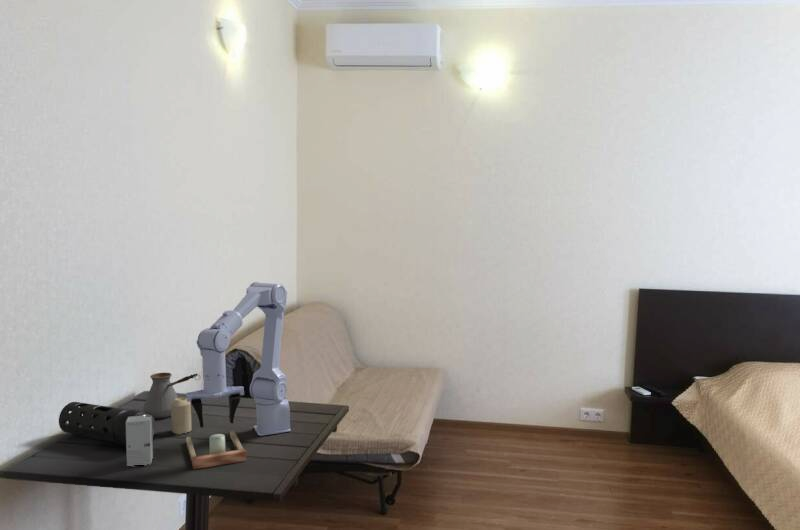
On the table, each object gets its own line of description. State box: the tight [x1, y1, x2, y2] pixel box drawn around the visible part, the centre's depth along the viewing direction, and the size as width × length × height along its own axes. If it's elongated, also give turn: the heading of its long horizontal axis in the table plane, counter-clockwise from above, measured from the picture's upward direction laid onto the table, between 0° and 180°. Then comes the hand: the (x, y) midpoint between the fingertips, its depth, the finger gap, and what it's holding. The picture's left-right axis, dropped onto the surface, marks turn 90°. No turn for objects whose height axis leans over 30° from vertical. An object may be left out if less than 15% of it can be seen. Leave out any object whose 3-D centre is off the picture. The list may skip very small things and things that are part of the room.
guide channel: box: [185, 430, 248, 470], centre depth 180 cm, size 13×20×2 cm
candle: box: [170, 397, 193, 435], centre depth 195 cm, size 6×6×10 cm
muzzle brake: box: [58, 401, 157, 447], centre depth 188 cm, size 10×28×10 cm, turn 67°
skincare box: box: [125, 415, 154, 467], centre depth 172 cm, size 6×4×12 cm
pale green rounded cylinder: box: [208, 433, 226, 454], centre depth 175 cm, size 4×4×6 cm
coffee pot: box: [143, 372, 201, 419], centre depth 209 cm, size 21×12×15 cm, turn 64°
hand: (216, 424), depth 175 cm, fingers open, 7 cm apart
